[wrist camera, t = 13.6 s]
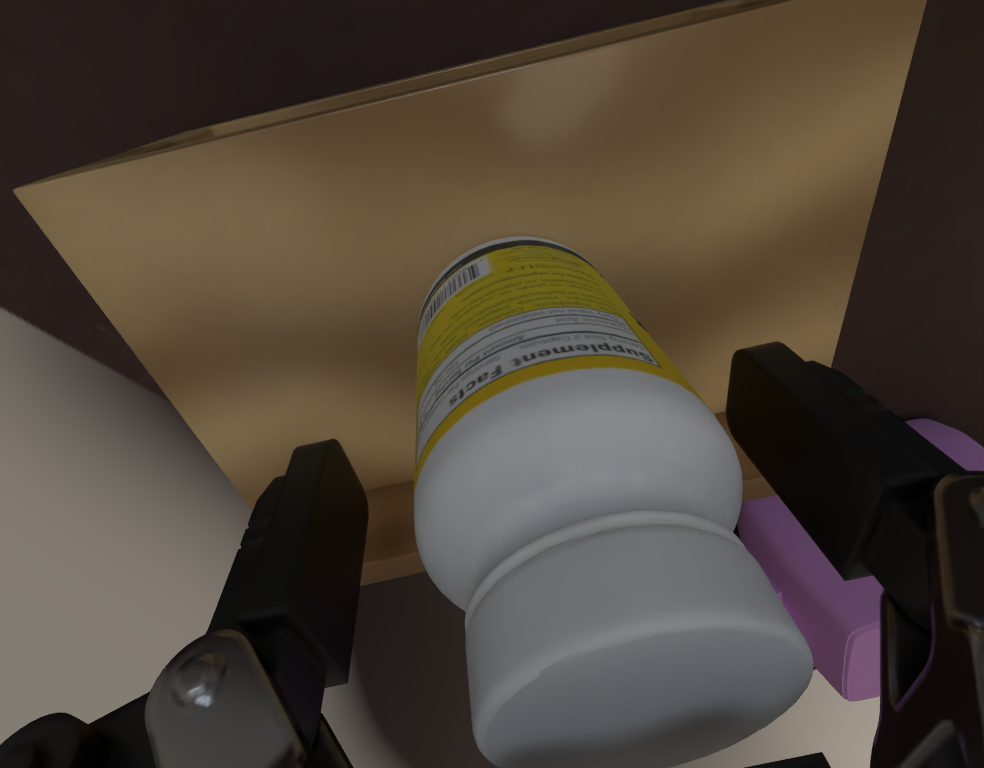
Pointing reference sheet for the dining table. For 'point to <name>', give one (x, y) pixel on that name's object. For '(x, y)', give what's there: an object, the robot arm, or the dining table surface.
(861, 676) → the teakettle
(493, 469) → the supplement bottle
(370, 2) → the dining table surface
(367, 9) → the dining table surface
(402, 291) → the lipped wooden block
